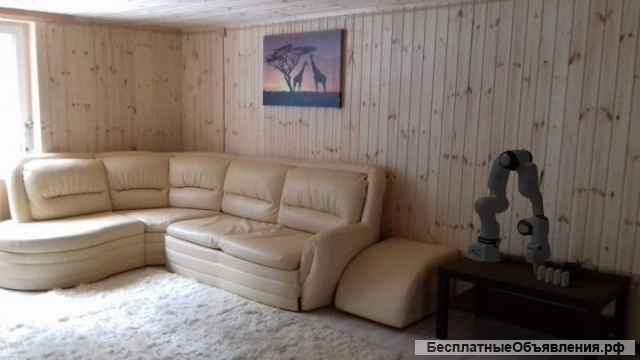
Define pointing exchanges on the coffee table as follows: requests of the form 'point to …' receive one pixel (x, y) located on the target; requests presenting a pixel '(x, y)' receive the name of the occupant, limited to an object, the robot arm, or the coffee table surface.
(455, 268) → the coffee table surface
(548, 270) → the domino
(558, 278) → the domino
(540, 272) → the domino
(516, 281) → the coffee table surface
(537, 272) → the domino
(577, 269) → the box
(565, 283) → the domino
